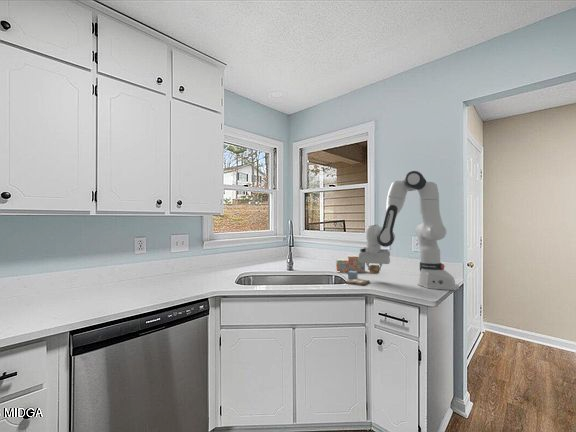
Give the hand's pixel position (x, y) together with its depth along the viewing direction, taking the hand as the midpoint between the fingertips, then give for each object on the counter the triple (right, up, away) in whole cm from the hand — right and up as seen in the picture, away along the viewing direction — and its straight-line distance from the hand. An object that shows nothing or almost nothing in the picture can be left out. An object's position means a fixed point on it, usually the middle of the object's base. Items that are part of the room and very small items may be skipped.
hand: (374, 270), depth 197 cm
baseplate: (-12, -7, -6) cm, 15 cm away
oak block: (0, -2, 0) cm, 2 cm away
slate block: (-13, -7, +7) cm, 16 cm away
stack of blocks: (-9, -8, +35) cm, 36 cm away
